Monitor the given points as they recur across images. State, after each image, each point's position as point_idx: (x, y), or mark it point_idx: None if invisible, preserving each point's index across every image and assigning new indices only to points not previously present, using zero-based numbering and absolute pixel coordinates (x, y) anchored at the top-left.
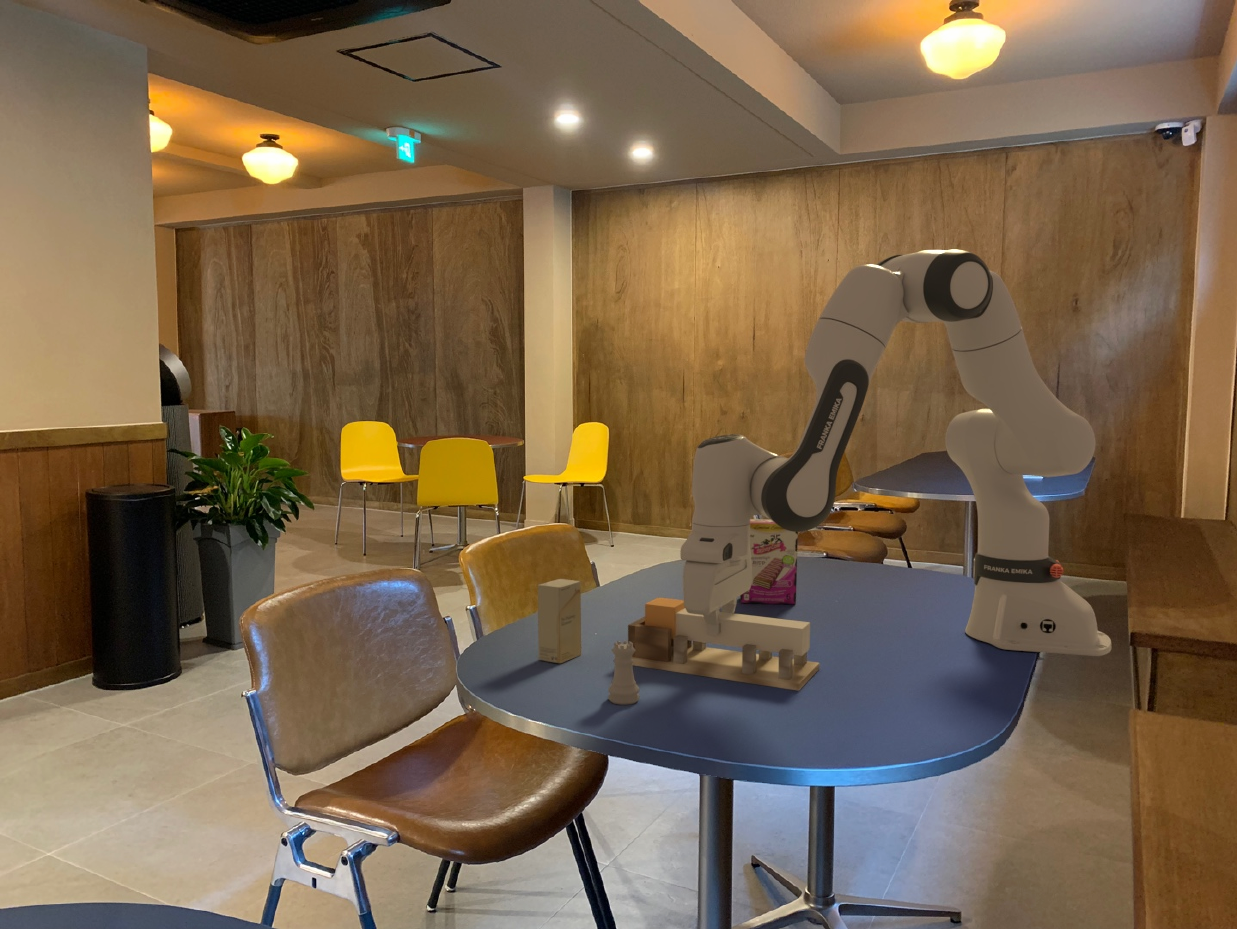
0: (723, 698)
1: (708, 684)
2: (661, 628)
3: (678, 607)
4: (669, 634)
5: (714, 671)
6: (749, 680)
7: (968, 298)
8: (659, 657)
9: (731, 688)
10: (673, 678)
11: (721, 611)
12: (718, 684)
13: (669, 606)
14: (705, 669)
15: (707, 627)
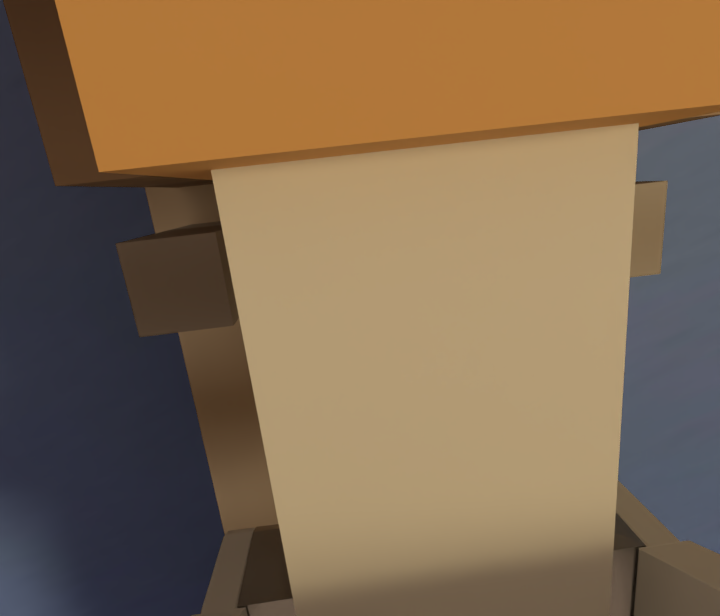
0: (13, 593)
1: (122, 470)
2: (66, 72)
3: (335, 149)
4: (124, 182)
5: (212, 469)
6: None
7: None
8: None
9: (144, 563)
10: (79, 296)
11: (677, 566)
12: (153, 502)
13: (101, 9)
14: (206, 424)
15: (210, 589)
